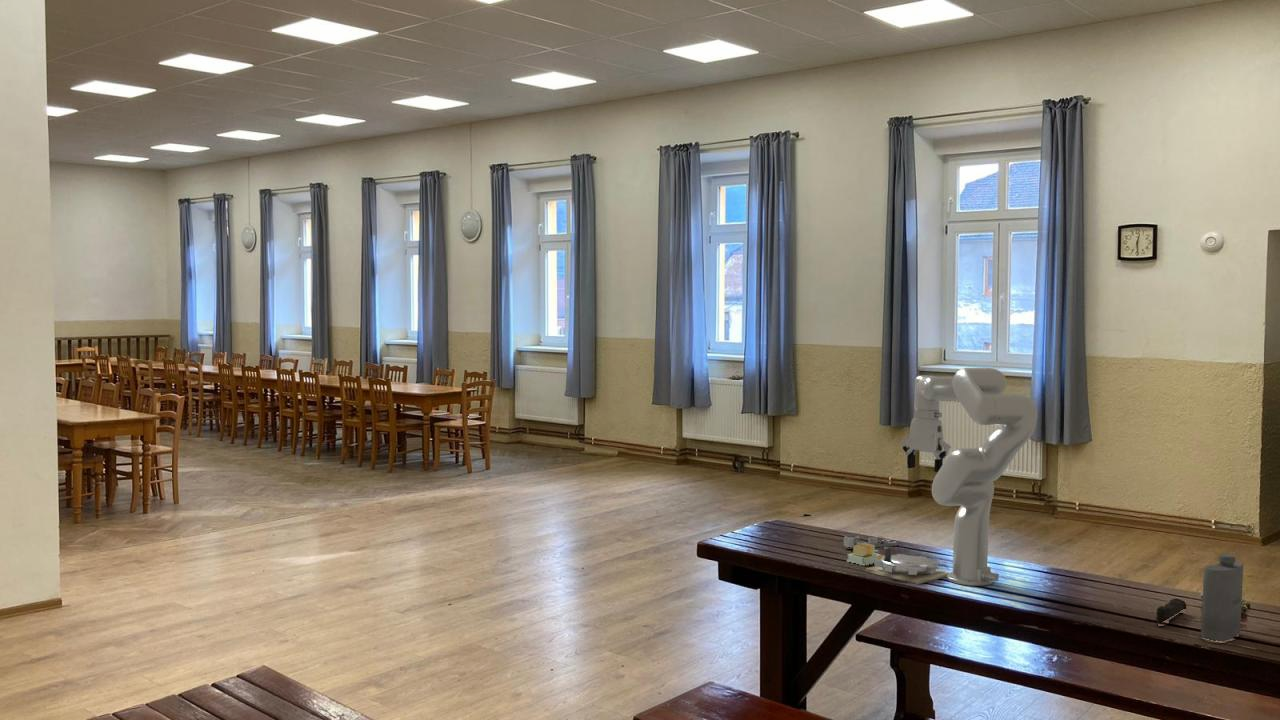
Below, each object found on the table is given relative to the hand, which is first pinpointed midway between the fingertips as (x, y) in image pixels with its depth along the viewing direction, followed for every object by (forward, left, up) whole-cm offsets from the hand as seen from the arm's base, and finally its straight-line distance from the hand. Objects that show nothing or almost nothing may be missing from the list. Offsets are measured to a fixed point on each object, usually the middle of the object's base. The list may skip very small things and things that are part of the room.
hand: (924, 469), depth 331 cm
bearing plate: (-8, +20, -28) cm, 36 cm away
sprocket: (-8, +20, -26) cm, 34 cm away
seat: (+9, +18, -28) cm, 34 cm away
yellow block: (+9, +18, -28) cm, 34 cm away
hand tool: (-78, +6, -29) cm, 83 cm away
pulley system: (+21, 0, -29) cm, 36 cm away
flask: (-92, +11, -29) cm, 97 cm away
